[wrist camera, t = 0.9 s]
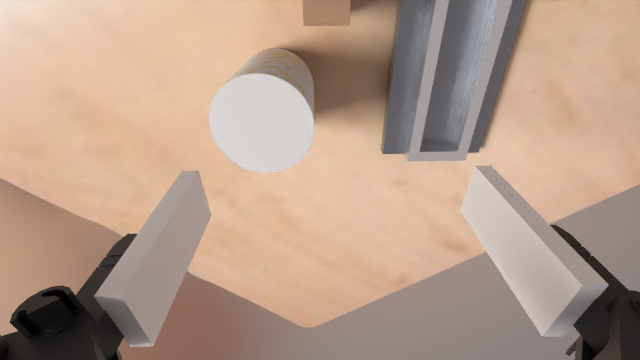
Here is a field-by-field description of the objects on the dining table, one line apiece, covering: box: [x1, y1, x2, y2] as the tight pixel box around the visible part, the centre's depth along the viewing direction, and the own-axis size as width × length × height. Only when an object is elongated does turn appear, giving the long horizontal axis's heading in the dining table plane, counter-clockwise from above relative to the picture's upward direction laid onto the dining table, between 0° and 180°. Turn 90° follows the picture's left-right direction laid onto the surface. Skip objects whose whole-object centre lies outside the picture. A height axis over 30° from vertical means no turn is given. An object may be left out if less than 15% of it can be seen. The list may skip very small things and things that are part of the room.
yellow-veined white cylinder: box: [209, 48, 314, 173], centre depth 28 cm, size 8×8×12 cm
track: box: [381, 0, 527, 161], centre depth 30 cm, size 22×12×3 cm, turn 0°
